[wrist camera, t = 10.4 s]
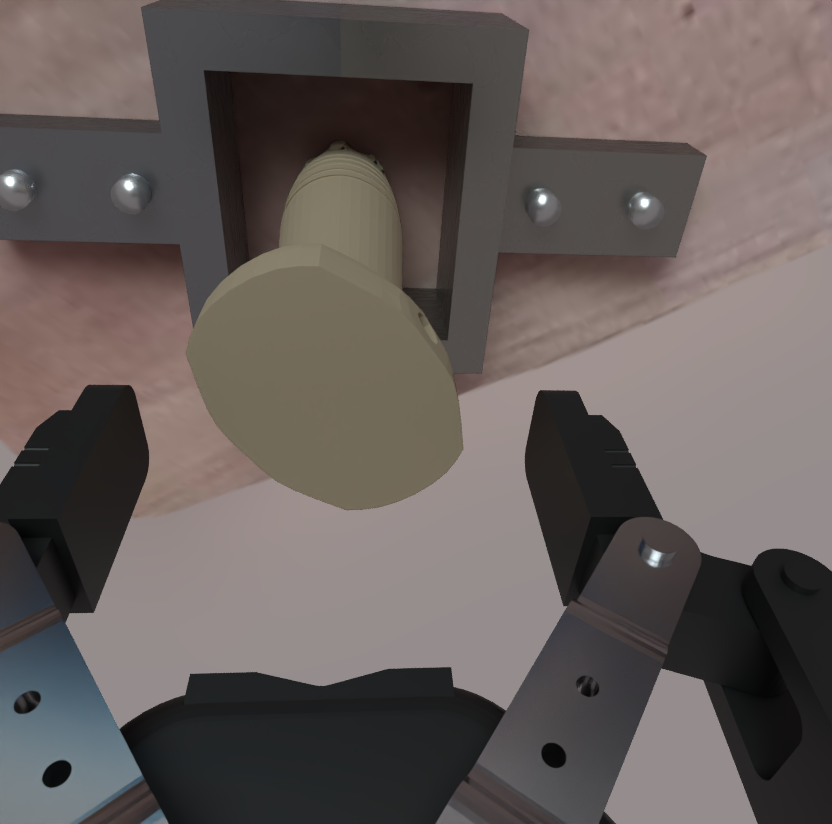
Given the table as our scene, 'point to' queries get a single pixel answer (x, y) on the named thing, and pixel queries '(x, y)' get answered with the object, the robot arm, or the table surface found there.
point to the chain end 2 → (513, 166)
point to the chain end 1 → (165, 139)
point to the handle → (330, 348)
